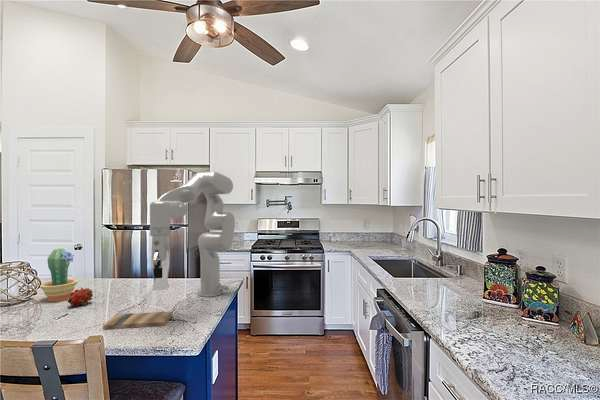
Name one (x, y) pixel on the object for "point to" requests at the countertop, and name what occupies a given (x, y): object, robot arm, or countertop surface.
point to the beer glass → (162, 282)
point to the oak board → (138, 320)
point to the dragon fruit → (80, 297)
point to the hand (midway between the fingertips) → (160, 275)
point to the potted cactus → (59, 276)
